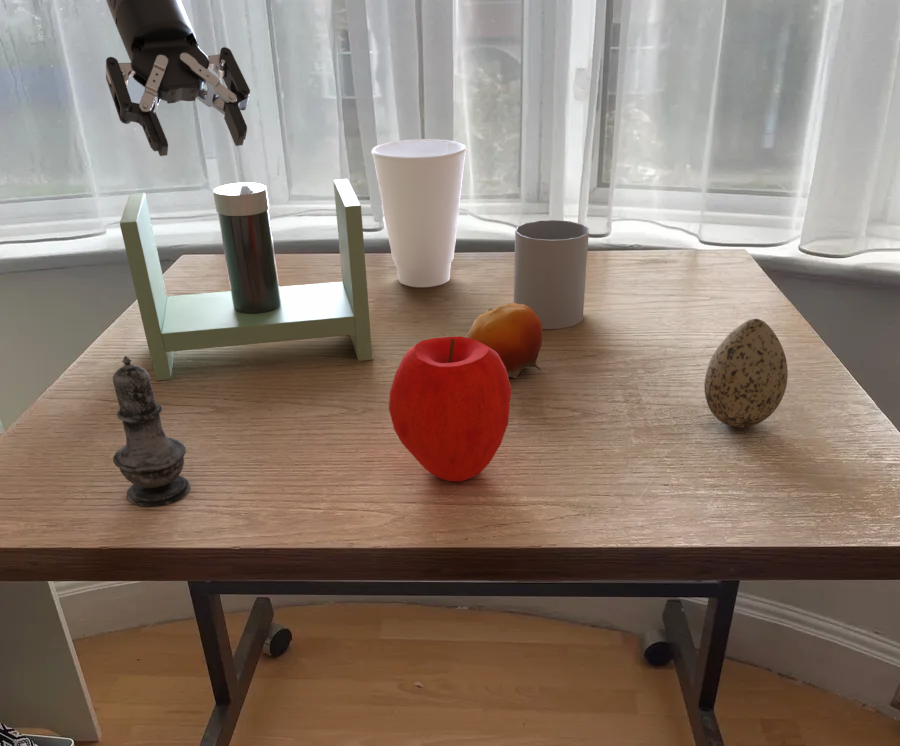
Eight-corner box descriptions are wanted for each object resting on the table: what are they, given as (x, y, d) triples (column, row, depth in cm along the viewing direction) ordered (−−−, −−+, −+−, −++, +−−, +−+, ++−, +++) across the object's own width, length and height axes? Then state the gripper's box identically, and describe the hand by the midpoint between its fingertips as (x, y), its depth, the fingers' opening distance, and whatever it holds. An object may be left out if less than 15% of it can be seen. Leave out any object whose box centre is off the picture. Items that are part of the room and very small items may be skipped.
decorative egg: (697, 438, 82) (715, 332, 76) (698, 405, 88) (714, 303, 82) (779, 444, 81) (803, 337, 75) (774, 410, 87) (796, 308, 81)
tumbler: (232, 316, 96) (212, 196, 89) (232, 299, 100) (213, 184, 93) (283, 312, 97) (267, 193, 90) (281, 295, 101) (265, 181, 94)
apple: (377, 492, 76) (365, 353, 68) (419, 440, 83) (413, 310, 76) (489, 511, 73) (490, 368, 66) (523, 456, 80) (527, 322, 73)
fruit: (530, 381, 90) (497, 305, 88) (475, 402, 95) (443, 332, 93) (572, 355, 95) (541, 283, 93) (517, 377, 101) (488, 309, 98)
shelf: (156, 381, 95) (119, 222, 86) (161, 340, 105) (129, 193, 95) (372, 359, 99) (361, 205, 89) (359, 322, 108) (347, 178, 98)
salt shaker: (127, 514, 74) (88, 376, 66) (119, 482, 78) (83, 348, 71) (199, 499, 75) (169, 363, 68) (188, 468, 80) (159, 337, 73)
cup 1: (361, 281, 120) (351, 150, 110) (420, 260, 127) (415, 135, 118) (428, 299, 114) (423, 162, 104) (486, 275, 121) (486, 145, 111)
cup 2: (503, 323, 107) (504, 236, 101) (526, 301, 113) (528, 217, 107) (572, 332, 104) (577, 243, 98) (591, 309, 110) (598, 223, 104)
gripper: (207, 35, 104) (259, 160, 103) (82, 44, 98) (136, 177, 97) (215, -19, 97) (270, 114, 96) (80, -13, 91) (138, 130, 90)
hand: (203, 146), depth 97 cm, fingers open, 8 cm apart
